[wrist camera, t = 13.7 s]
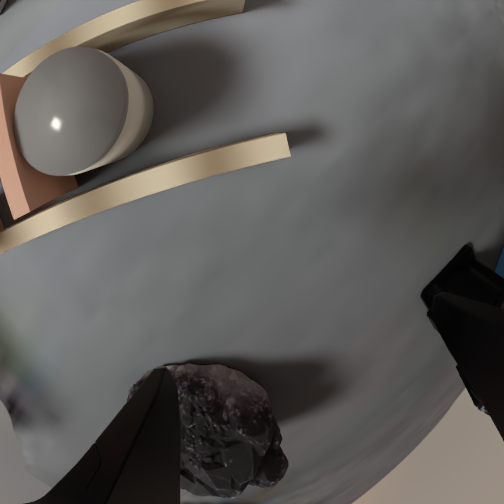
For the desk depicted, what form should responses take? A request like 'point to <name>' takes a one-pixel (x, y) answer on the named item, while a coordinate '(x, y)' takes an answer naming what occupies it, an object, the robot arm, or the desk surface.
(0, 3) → the supplement box
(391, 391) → the desk surface
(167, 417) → the robot arm
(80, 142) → the jar
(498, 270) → the perfume bottle
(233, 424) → the dark rock
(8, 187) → the pusher
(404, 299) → the desk surface
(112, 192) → the lane
